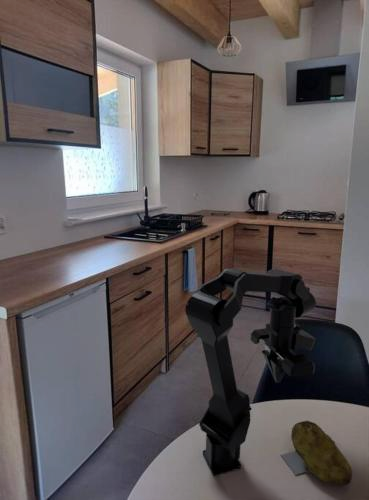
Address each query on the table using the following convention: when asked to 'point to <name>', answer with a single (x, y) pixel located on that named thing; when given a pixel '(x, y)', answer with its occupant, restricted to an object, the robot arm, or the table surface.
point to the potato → (320, 454)
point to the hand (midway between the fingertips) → (277, 381)
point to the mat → (295, 463)
